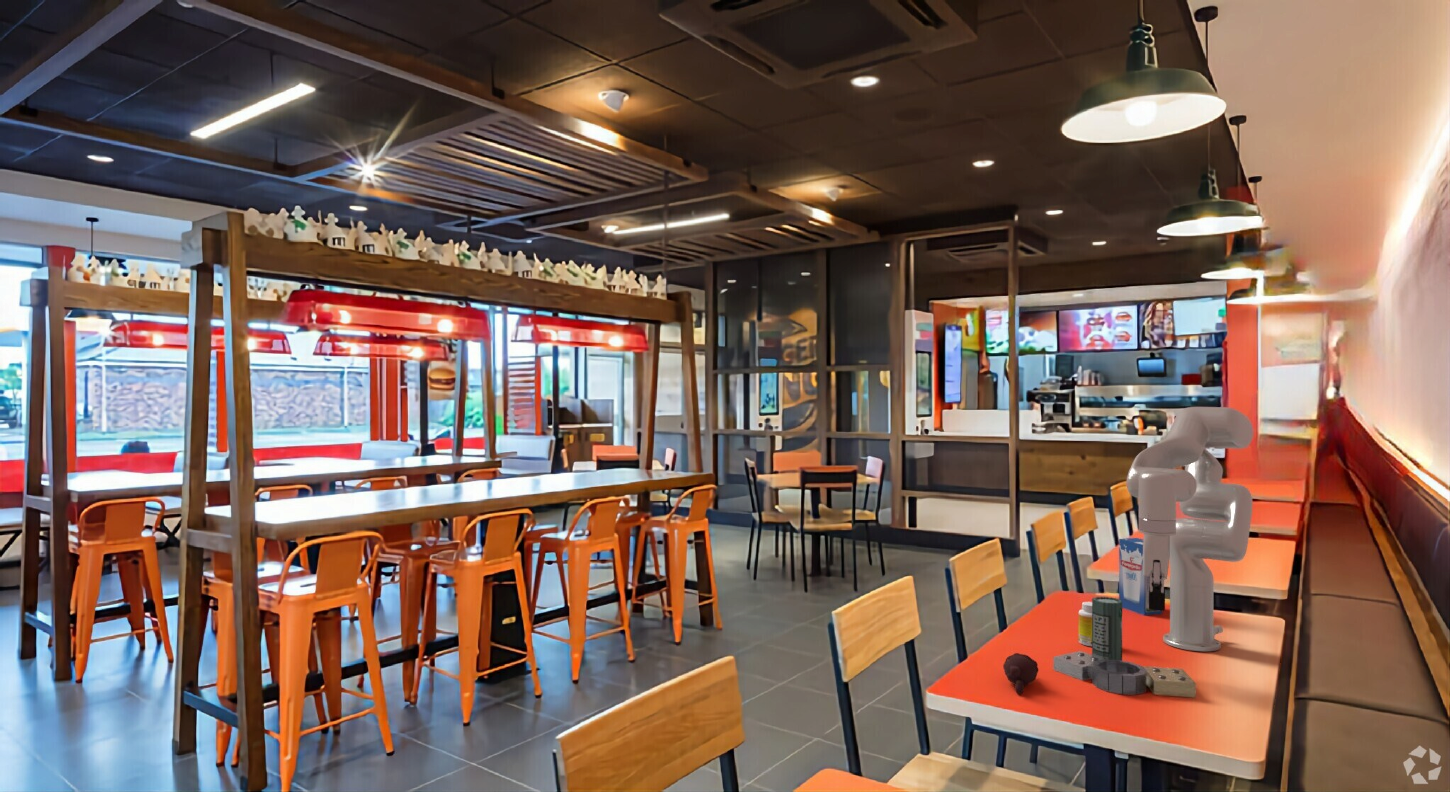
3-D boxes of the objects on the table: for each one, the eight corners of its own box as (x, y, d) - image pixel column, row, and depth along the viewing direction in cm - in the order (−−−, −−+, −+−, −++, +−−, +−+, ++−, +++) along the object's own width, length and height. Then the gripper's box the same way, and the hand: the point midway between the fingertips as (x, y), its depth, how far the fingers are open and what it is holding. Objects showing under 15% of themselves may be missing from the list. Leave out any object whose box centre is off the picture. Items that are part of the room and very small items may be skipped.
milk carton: (1162, 613, 236) (1162, 543, 236) (1144, 615, 235) (1144, 545, 234) (1136, 604, 246) (1136, 537, 246) (1118, 606, 244) (1118, 538, 244)
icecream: (1004, 642, 190) (993, 668, 177) (1037, 639, 186) (1028, 665, 173) (1012, 672, 190) (1002, 700, 177) (1046, 669, 186) (1037, 697, 173)
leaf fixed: (1082, 663, 195) (1082, 646, 195) (1156, 689, 178) (1156, 670, 178) (1051, 670, 190) (1051, 652, 190) (1124, 697, 173) (1124, 678, 173)
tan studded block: (1142, 679, 183) (1142, 664, 183) (1182, 682, 181) (1182, 667, 181) (1153, 694, 174) (1153, 679, 174) (1195, 697, 173) (1195, 682, 173)
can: (1126, 664, 194) (1126, 600, 193) (1111, 669, 190) (1111, 604, 190) (1102, 657, 199) (1103, 595, 198) (1087, 662, 195) (1087, 598, 195)
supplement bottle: (1094, 648, 205) (1094, 607, 205) (1073, 642, 210) (1073, 602, 210) (1107, 644, 208) (1107, 604, 208) (1087, 639, 213) (1087, 599, 213)
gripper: (1139, 519, 196) (1139, 596, 196) (1137, 531, 181) (1137, 614, 182) (1175, 522, 193) (1175, 600, 193) (1176, 533, 178) (1176, 618, 178)
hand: (1156, 606), depth 187 cm, fingers open, 4 cm apart
